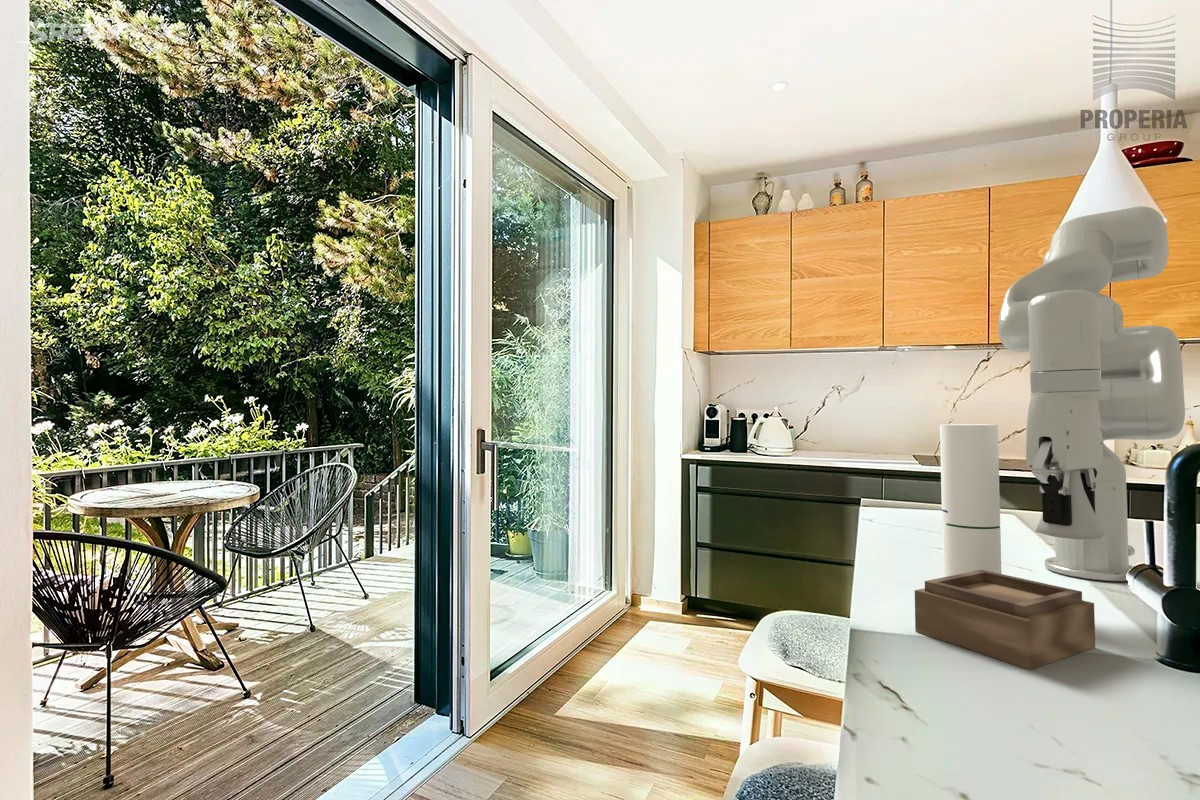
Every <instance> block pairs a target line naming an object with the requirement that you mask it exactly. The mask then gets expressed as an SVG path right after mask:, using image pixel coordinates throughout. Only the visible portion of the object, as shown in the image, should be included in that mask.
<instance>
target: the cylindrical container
mask: <svg viewBox="0 0 1200 800" xmlns="http://www.w3.org/2000/svg"><path fill="white" fill-rule="evenodd" d="M939 441H940V442H939V443H940V444H939V445H940V446H939V447H940V448H939V449H940V485H941V487H940V488H941V489H940V490H941V491H940V492H941V497H940V498H941V530H942V531H941V534H942V535H941V536H942V537H941V538H942V572H943V574H942V576H943V577H948V576H953V575H958V574H963V573H968V572H973V571H978V570H985V571H990V572H994V573H999V574H1002V543H1001V542H1002V539H1001V537H1002V536H1001V533H1002V532H1001V500H1000V499H1001V497H1000V496H1001V495H1000V466H999V465H1000V464H999V459H1000V458H999V456H1000V455H999V424H995V423H994V424H993V423H987V424H986V423H983V424H982V423H979V424H977V423H972V424H971V423H970V424H969V423H960V424H959V423H956V424H955V423H952V424H951V423H950V424H949V423H947V424H945V423H944V424H943V423H942V424H939ZM943 577H942V578H943Z"/></svg>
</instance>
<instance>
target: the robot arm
mask: <svg viewBox="0 0 1200 800" xmlns="http://www.w3.org/2000/svg"><path fill="white" fill-rule="evenodd" d="M1053 233H1054V234H1053V235H1052V238H1051V240H1050V245H1049V250H1048V251H1047V252H1046V253H1045V254H1044V257H1043V258H1042V259H1043V260H1042V265H1040V266H1038V267H1036V268H1035V269H1033V270H1032V271H1030V272H1029V273H1027V274H1025V275H1024V276H1022V277H1021V278H1019V279H1017V280H1016V281H1015V282H1014V283H1012V284H1011V285H1010V286H1009V288H1008V289H1007V291H1006V292H1005V295H1004V298H1003V301H1002V304H1001V307H1000V312H999V316H998V321H997V322H998V323H997V334H998V338H999V340H1000V343H1001V344H1002V345H1003V346H1004V347H1005V348H1006V349H1007V350H1009V351H1011V352H1016V353H1027V352H1028V353H1029V372H1030V373H1029V376H1030V377H1029V379H1030V380H1029V381H1030V382H1029V383H1030V399H1029V405H1028V411H1027V421H1026V433H1025V435H1026V438H1025V439H1026V440H1025V441H1026V442H1025V444H1026V445H1025V451H1026V452H1025V455H1026V456H1025V459H1026V460H1025V462H1026V466H1027V467H1028V468H1029V469H1031V474H1032V475H1033V476H1034V477H1035V478H1036V480H1037V482H1038V484H1039V492H1040V493H1041V498H1042V499H1041V504H1042V505H1041V506H1042V515H1043V521H1044V522H1045V523H1050V524H1057V525H1064V526H1070V525H1072V504H1071V495H1067V492H1068V484H1069V476H1070V472H1071V471H1078V470H1080V475H1081V480H1082V484H1083V488H1084V491H1085V493H1086V495H1087V497H1088V500H1089V502H1090V504H1091V506H1092V509H1093V511H1094V513H1095V515H1096V517H1097V519H1098V521H1099V523H1100V525H1101V527H1102V529H1103V531H1104V533H1105V535H1104V536H1103V537H1102V538H1099V539H1081V540H1079V539H1069V538H1060V537H1054V541H1055V542H1054V545H1055V548H1054V549H1055V552H1054V553H1055V556H1053V557H1048V558H1045V560H1044V567H1045V568H1046V569H1047V570H1050V571H1052V572H1054V573H1058V574H1060V575H1065V576H1070V577H1073V578H1081V579H1088V580H1096V581H1097V580H1098V581H1106V582H1107V581H1108V582H1127V581H1126V574H1127V572H1128V571H1129V569H1131V568H1132V567H1135V566H1133V565H1131V564H1129V559H1130V558H1129V557H1132V556H1134V554H1135V552H1136V550H1135V548H1134V547H1133V546H1132V545H1130V544H1129V532H1128V531H1129V530H1128V529H1129V527H1128V499H1127V496H1128V495H1127V473H1126V472H1127V471H1126V470H1127V469H1126V468H1125V464H1124V462H1123V461H1122V459H1121V458H1120V457H1119V455H1117V454H1116V453H1115V452H1114V451H1113V450H1112V449H1110V448H1109V447H1108V446H1107V445H1106V444H1105V442H1104V441H1109V440H1110V441H1112V440H1113V441H1114V440H1134V441H1135V440H1139V441H1147V440H1149V441H1151V440H1152V441H1153V440H1155V441H1156V440H1160V441H1161V440H1167V439H1172V438H1174V437H1177V436H1178V435H1179V434H1181V431H1183V428H1184V424H1185V418H1186V411H1185V408H1186V406H1185V405H1186V404H1185V389H1184V388H1185V387H1184V375H1183V374H1184V372H1183V371H1184V370H1183V358H1182V349H1181V345H1180V341H1179V338H1178V337H1177V335H1176V333H1175V332H1174V331H1173V330H1172V329H1170V328H1169V327H1166V326H1162V325H1140V326H1127V327H1124V313H1123V310H1122V307H1121V305H1120V304H1119V303H1117V302H1116V301H1115V300H1114V299H1113V298H1112V297H1110V296H1109V295H1106V294H1104V293H1100V292H1102V291H1103V290H1104V288H1105V287H1106V286H1107V285H1108V284H1110V283H1117V282H1127V281H1136V280H1142V279H1143V280H1144V279H1150V278H1153V277H1155V276H1158V275H1160V274H1161V273H1162V272H1163V271H1164V270H1165V269H1166V267H1167V264H1168V261H1169V257H1170V256H1169V254H1170V251H1169V249H1170V248H1169V234H1168V228H1167V225H1166V221H1165V219H1164V218H1163V216H1162V215H1161V213H1160V212H1159V211H1158V210H1156V209H1154V208H1152V207H1149V206H1135V207H1126V208H1122V209H1116V210H1111V211H1105V212H1099V213H1098V212H1097V213H1094V214H1089V215H1083V216H1079V217H1075V218H1073V219H1069V220H1067V221H1066V222H1065V223H1063V224H1061V225H1060V226H1058V228H1057V229H1056V230H1055V232H1053ZM1055 466H1056V467H1059V468H1060V469H1061V470H1057V469H1055ZM1055 475H1060V479H1059V481H1058V480H1057V478H1056V477H1055Z"/></svg>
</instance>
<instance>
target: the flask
mask: <svg viewBox="0 0 1200 800" xmlns="http://www.w3.org/2000/svg"><path fill="white" fill-rule="evenodd" d="M1055 469H1057V470H1061V469H1060V468H1059V467H1056V466H1055ZM1055 477H1056V478H1057V480H1058V481H1059V479H1060V475H1055ZM1067 495H1071V504H1072V525H1070V526H1064V525H1057V524H1050V523H1045V522H1044V521H1043V514H1041V517H1040V520H1039V521H1038V524H1037V527H1036V530H1035V532H1036V533H1040V534H1041V535H1046V536H1050V537H1054V538H1055V537H1060V538H1069V539H1079V540H1081V539H1099V538H1102V537H1103V536H1104V535H1105V533H1104V531H1103V529H1102V527H1101V525H1100V523H1099V521H1098V519H1097V517H1096V515H1095V513H1094V511H1093V509H1092V506H1091V504H1090V502H1089V500H1088V497H1087V495H1086V493H1085V491H1084V488H1083V484H1082V480H1081V475H1080V470H1078V471H1071V472H1070V476H1069V484H1068V492H1067Z"/></svg>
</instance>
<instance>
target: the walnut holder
mask: <svg viewBox="0 0 1200 800" xmlns="http://www.w3.org/2000/svg"><path fill="white" fill-rule="evenodd" d="M914 617H915V618H914V619H915V622H914V624H915V625H914V626H915V627H914V629H915V632H916V633H919V634H922V635H925V636H927V637H931V638H934V639H937V640H939V639H940V641H942V640H943V642H945V641H946V642H945V643H948V642H949V643H948V644H951V643H953V644H952V645H954V644H955V646H957V645H959V646H958V647H960V646H962V647H961V648H963V647H965V648H964V649H966V648H967V649H966V650H969V649H970V650H969V651H972V650H973V651H972V652H976V653H978V654H981V655H984V656H987V657H990V658H993V659H997V660H1000V661H1002V662H1005V663H1008V664H1011V665H1014V666H1017V667H1020V668H1023V669H1025V670H1029V671H1030V670H1032V669H1033V670H1034V669H1036V668H1039V667H1041V666H1045V665H1048V664H1050V663H1054V662H1056V661H1059V660H1062V659H1065V658H1068V657H1071V656H1074V655H1077V654H1080V653H1083V652H1086V651H1089V650H1093V649H1096V628H1095V627H1096V625H1095V624H1096V623H1095V620H1096V619H1095V602H1091V601H1087V600H1083V591H1081V590H1076V589H1073V588H1072V589H1071V588H1067V587H1062V586H1058V585H1055V584H1054V585H1053V584H1049V583H1044V582H1041V581H1035V580H1030V579H1027V578H1021V577H1016V576H1011V575H1007V574H1003V573H1001V574H999V573H994V572H990V571H985V570H978V571H973V572H968V573H963V574H958V575H953V576H948V577H938V578H932V579H929V580H924V588H919V589H914Z"/></svg>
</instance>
